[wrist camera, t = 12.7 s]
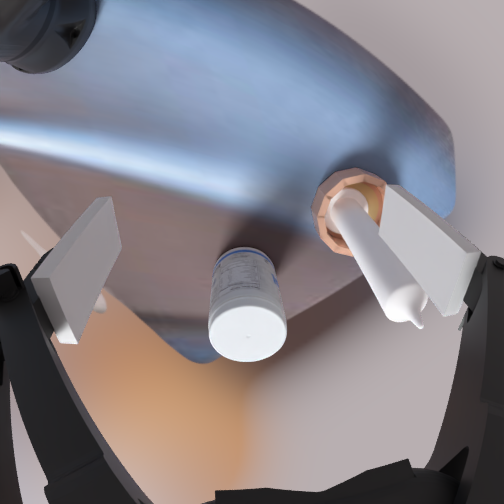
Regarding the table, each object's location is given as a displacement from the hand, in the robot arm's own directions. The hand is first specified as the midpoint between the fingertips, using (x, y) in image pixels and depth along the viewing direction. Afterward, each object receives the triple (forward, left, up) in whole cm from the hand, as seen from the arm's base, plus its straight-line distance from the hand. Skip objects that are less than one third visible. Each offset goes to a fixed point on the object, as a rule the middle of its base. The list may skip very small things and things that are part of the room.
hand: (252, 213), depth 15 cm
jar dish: (+15, +13, -29) cm, 35 cm away
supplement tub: (+21, -5, -29) cm, 36 cm away
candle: (+14, +12, -28) cm, 34 cm away
